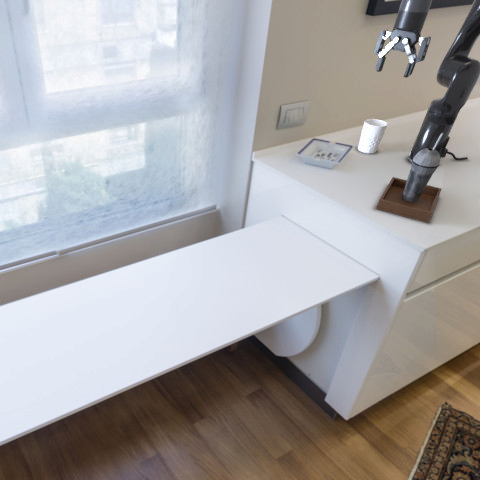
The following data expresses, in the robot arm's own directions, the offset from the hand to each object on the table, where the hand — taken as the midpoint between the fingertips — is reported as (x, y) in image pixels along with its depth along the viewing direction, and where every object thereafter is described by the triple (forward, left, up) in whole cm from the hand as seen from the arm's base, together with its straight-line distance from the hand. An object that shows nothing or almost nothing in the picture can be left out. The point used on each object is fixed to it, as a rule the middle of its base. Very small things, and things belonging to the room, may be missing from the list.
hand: (392, 74), depth 132 cm
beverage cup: (-5, +23, -30) cm, 38 cm away
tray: (-4, +24, -30) cm, 39 cm away
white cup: (-11, -17, -30) cm, 36 cm away
